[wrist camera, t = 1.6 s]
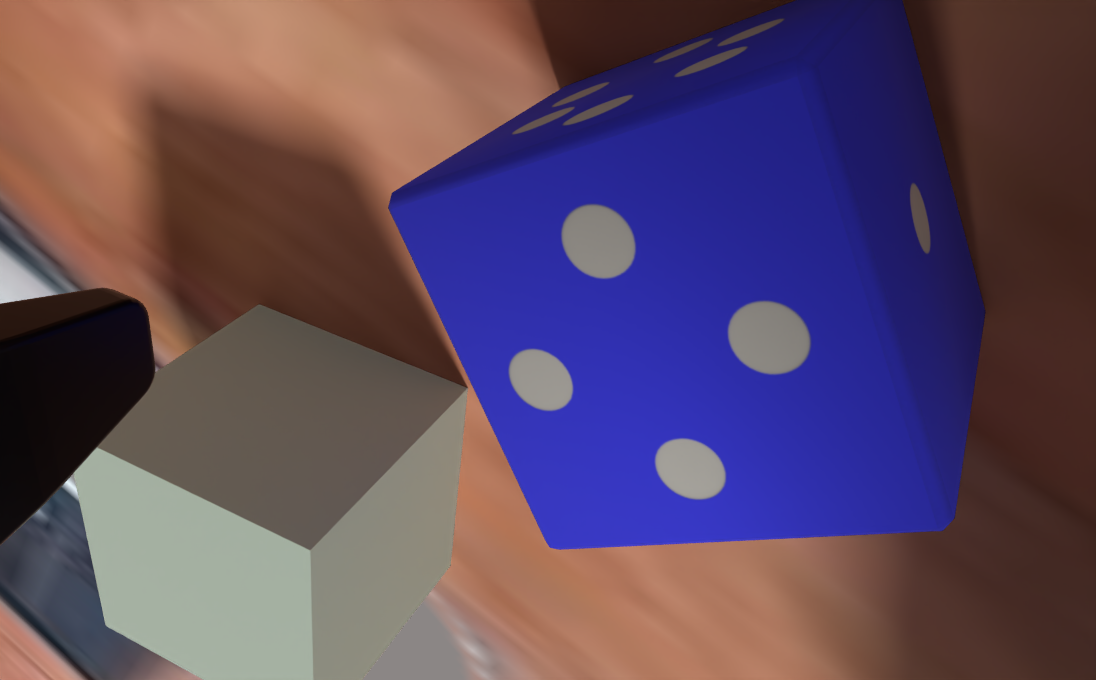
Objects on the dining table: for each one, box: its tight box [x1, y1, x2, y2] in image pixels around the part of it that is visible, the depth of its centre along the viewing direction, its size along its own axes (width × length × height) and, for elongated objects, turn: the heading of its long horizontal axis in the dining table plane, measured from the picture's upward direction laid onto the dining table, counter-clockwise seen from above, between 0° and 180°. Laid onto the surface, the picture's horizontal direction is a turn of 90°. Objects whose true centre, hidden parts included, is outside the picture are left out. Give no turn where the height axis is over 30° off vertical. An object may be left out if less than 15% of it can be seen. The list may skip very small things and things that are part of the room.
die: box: [388, 0, 985, 550], centre depth 12 cm, size 5×5×5 cm
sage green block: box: [74, 304, 468, 680], centre depth 18 cm, size 5×5×5 cm
